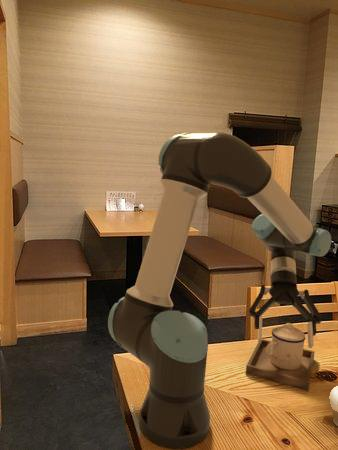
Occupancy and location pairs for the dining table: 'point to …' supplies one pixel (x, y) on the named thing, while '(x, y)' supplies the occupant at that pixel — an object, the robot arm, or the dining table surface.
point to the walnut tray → (266, 370)
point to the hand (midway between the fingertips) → (285, 343)
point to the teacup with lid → (286, 347)
